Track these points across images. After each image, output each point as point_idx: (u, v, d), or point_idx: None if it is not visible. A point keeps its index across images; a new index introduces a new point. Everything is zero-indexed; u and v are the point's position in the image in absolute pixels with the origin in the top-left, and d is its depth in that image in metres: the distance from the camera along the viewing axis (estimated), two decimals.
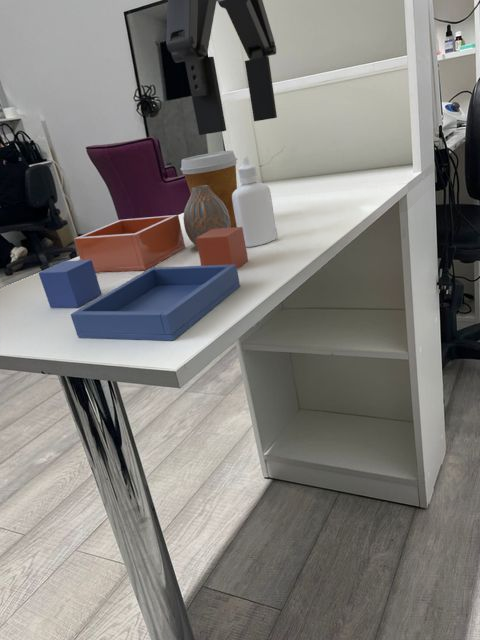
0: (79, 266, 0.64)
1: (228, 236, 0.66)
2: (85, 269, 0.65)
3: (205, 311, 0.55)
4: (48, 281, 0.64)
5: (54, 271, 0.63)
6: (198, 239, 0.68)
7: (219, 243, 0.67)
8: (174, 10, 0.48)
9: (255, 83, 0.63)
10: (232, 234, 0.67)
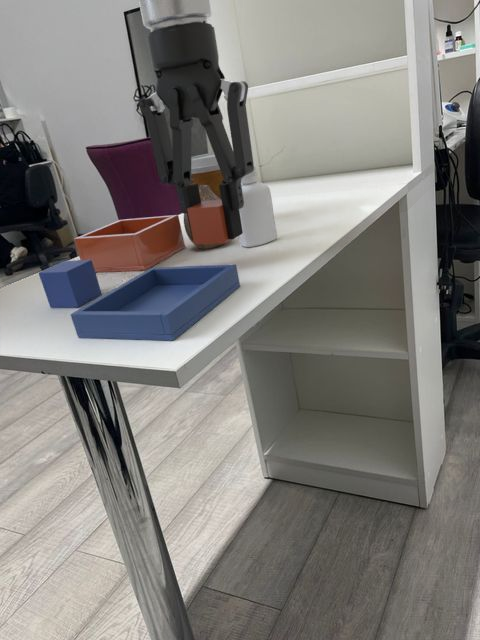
0: (79, 266, 0.64)
1: (220, 206, 0.65)
2: (85, 269, 0.65)
3: (205, 311, 0.55)
4: (48, 281, 0.64)
5: (54, 271, 0.63)
6: (190, 210, 0.66)
7: (211, 214, 0.65)
8: (245, 145, 0.62)
9: None
10: None
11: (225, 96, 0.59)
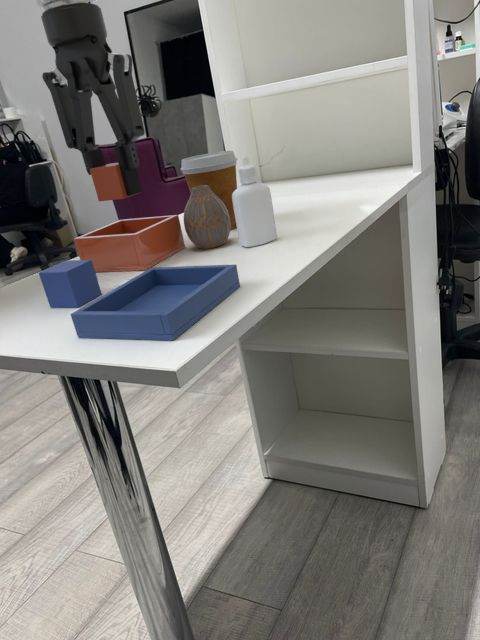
0: (79, 266, 0.64)
1: (116, 166, 0.74)
2: (85, 269, 0.65)
3: (205, 311, 0.55)
4: (48, 281, 0.64)
5: (54, 271, 0.63)
6: (92, 170, 0.75)
7: (109, 173, 0.74)
8: (132, 110, 0.71)
9: None
10: None
11: (111, 67, 0.68)
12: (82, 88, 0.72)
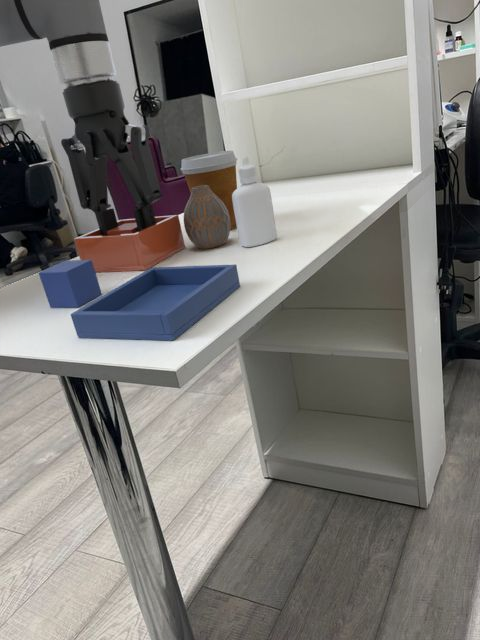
0: (79, 266, 0.64)
1: (133, 229, 0.77)
2: (85, 269, 0.65)
3: (205, 311, 0.55)
4: (48, 281, 0.64)
5: (54, 271, 0.63)
6: (109, 232, 0.79)
7: None
8: (150, 177, 0.74)
9: (110, 227, 0.81)
10: None
11: (128, 138, 0.72)
12: (100, 156, 0.75)
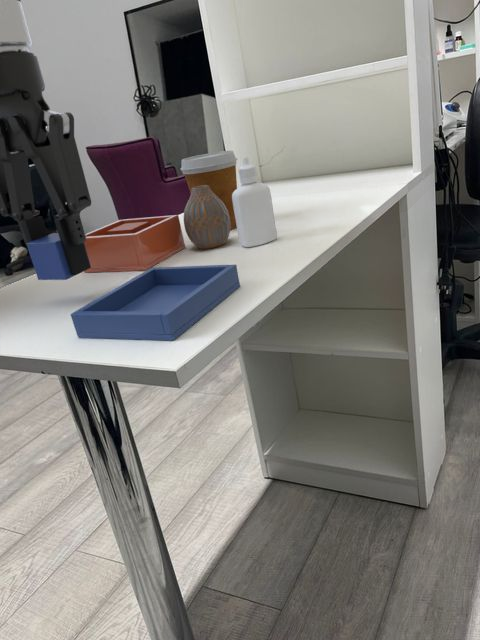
0: None
1: (133, 229, 0.77)
2: None
3: (205, 311, 0.55)
4: (36, 252, 0.63)
5: (42, 242, 0.62)
6: (109, 232, 0.79)
7: None
8: (74, 179, 0.58)
9: None
10: (137, 227, 0.78)
11: (46, 128, 0.56)
12: (15, 150, 0.59)
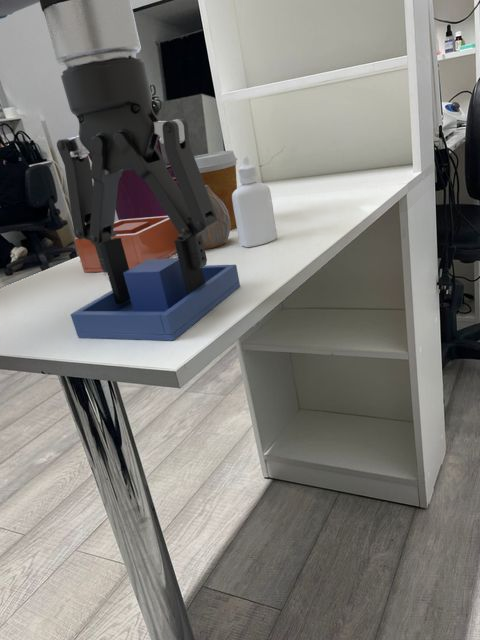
0: (171, 265, 0.55)
1: (133, 229, 0.77)
2: (176, 268, 0.56)
3: (205, 311, 0.55)
4: (135, 282, 0.55)
5: (143, 271, 0.54)
6: None
7: None
8: (198, 193, 0.50)
9: (116, 265, 0.57)
10: (137, 227, 0.78)
11: (161, 140, 0.48)
12: (116, 170, 0.52)
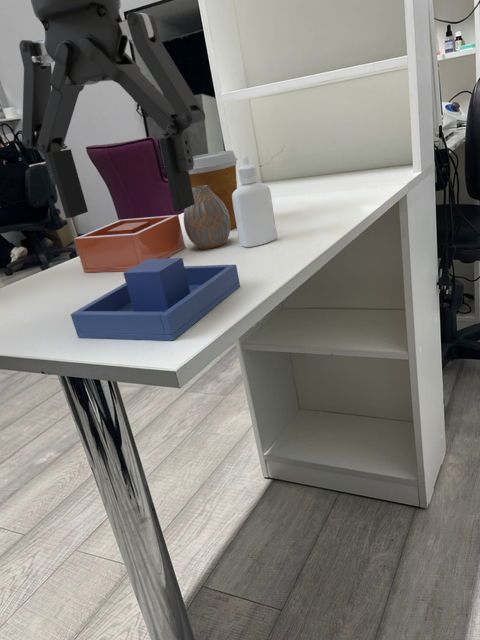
0: (171, 265, 0.55)
1: (133, 229, 0.77)
2: (176, 268, 0.56)
3: (205, 311, 0.55)
4: (135, 282, 0.55)
5: (143, 271, 0.54)
6: (109, 232, 0.79)
7: None
8: (178, 86, 0.47)
9: (66, 176, 0.56)
10: (137, 227, 0.78)
11: (129, 37, 0.46)
12: (83, 82, 0.50)
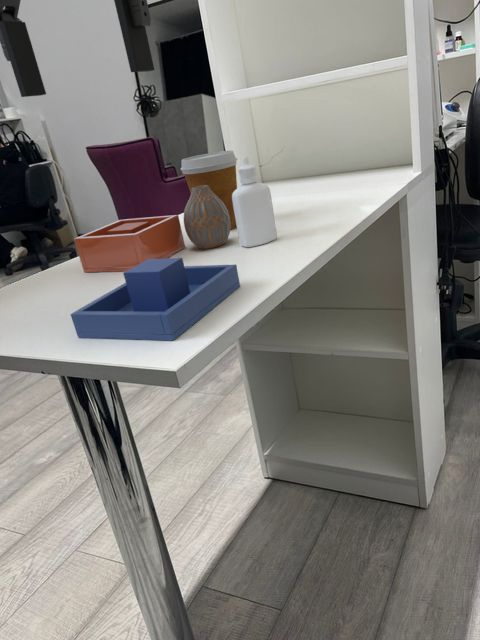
0: (171, 265, 0.55)
1: (133, 229, 0.77)
2: (176, 268, 0.56)
3: (205, 311, 0.55)
4: (135, 282, 0.55)
5: (143, 271, 0.54)
6: (109, 232, 0.79)
7: None
8: None
9: (20, 50, 0.53)
10: (137, 227, 0.78)
11: None
12: None
